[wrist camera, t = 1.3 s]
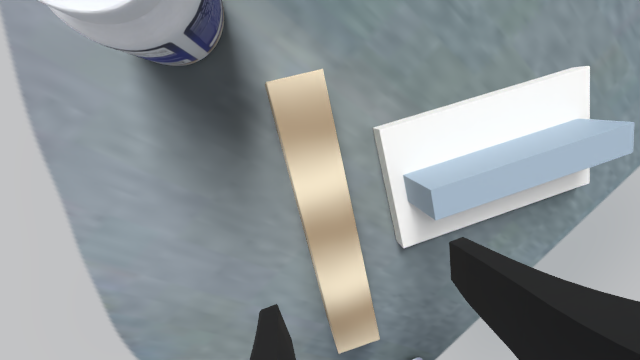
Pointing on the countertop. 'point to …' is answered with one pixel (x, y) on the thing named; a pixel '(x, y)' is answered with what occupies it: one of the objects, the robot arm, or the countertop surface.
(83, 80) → the countertop surface
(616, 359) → the robot arm
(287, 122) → the beam
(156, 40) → the pill bottle
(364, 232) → the countertop surface
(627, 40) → the countertop surface
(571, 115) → the ridge stand
